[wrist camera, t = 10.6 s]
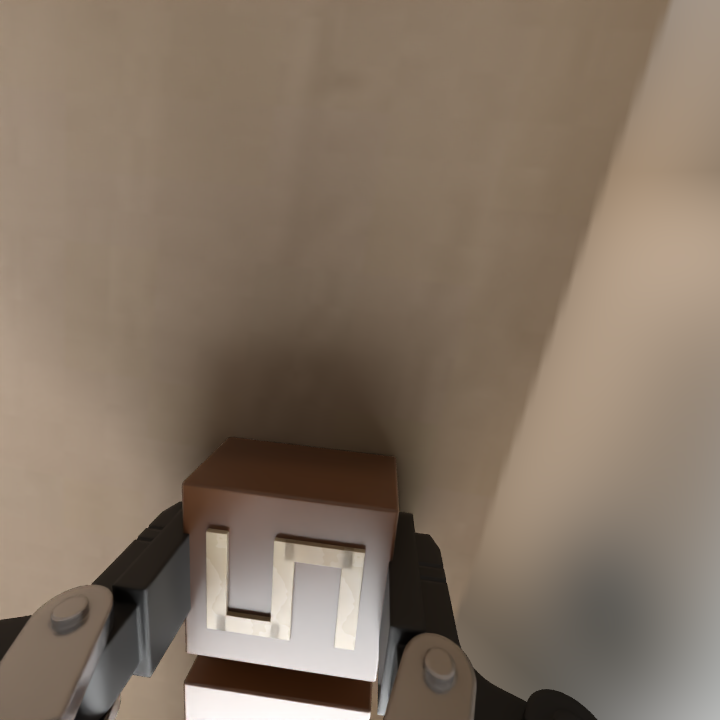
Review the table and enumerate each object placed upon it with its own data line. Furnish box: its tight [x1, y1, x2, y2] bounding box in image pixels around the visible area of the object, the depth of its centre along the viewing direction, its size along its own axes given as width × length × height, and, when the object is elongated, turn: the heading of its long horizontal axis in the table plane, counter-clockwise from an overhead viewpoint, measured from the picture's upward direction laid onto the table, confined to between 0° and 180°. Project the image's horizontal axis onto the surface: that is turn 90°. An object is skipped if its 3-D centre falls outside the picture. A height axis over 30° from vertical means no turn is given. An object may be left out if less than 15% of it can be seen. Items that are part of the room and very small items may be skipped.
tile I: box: [184, 655, 372, 720], centre depth 11 cm, size 5×5×3 cm
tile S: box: [182, 437, 399, 682], centre depth 9 cm, size 5×5×3 cm
